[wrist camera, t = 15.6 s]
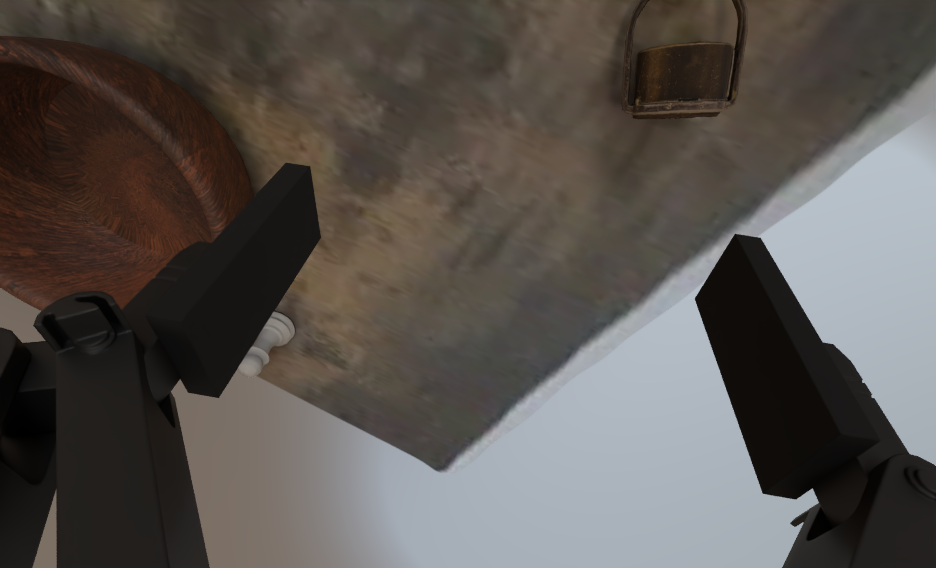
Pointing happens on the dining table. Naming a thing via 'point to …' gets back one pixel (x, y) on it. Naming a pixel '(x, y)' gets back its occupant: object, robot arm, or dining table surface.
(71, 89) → the wooden bowl
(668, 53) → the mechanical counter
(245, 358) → the chess piece
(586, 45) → the dining table surface
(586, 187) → the dining table surface
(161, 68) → the dining table surface
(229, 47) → the dining table surface
